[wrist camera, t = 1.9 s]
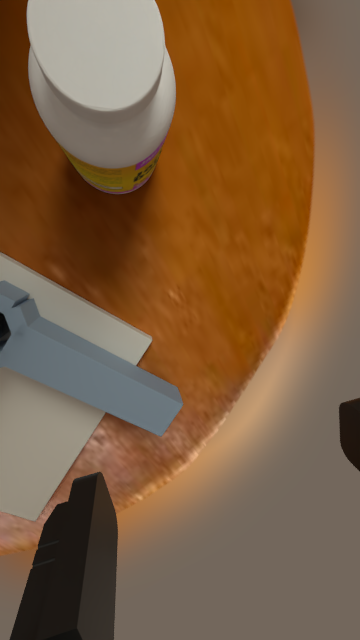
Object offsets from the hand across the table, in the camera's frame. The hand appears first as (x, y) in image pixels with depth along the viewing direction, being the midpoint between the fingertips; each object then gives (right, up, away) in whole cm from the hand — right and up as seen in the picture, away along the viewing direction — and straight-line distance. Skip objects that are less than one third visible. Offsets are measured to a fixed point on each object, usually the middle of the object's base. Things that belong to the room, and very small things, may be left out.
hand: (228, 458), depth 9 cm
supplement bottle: (-7, +18, +13) cm, 23 cm away
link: (-11, +1, +16) cm, 19 cm away
